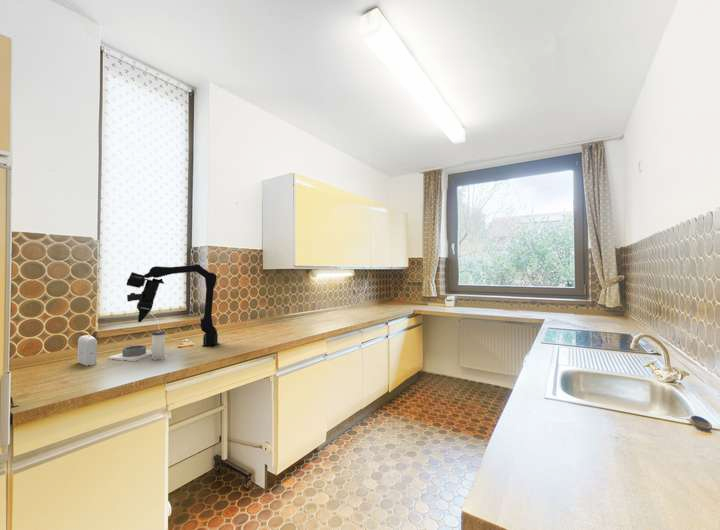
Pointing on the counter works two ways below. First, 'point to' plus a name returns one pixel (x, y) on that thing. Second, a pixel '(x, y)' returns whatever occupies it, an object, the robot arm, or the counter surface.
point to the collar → (132, 353)
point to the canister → (158, 344)
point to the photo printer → (87, 350)
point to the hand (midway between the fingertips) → (139, 320)
